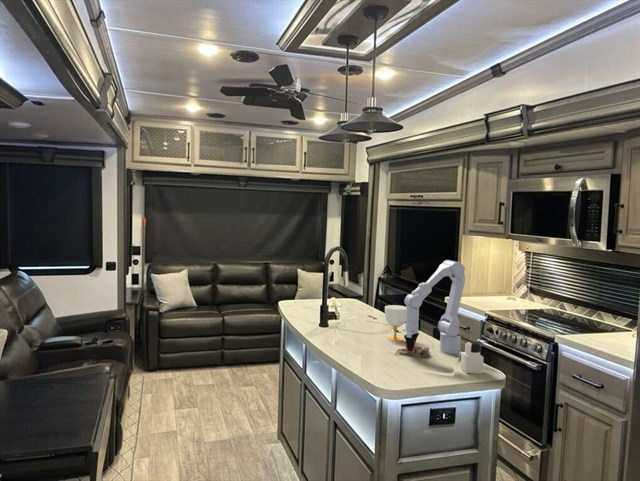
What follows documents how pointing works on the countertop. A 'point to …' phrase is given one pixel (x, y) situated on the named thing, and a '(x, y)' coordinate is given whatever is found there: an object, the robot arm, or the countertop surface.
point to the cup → (395, 318)
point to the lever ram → (413, 348)
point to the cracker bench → (403, 353)
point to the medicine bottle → (472, 359)
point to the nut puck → (419, 350)
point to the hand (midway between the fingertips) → (411, 349)
